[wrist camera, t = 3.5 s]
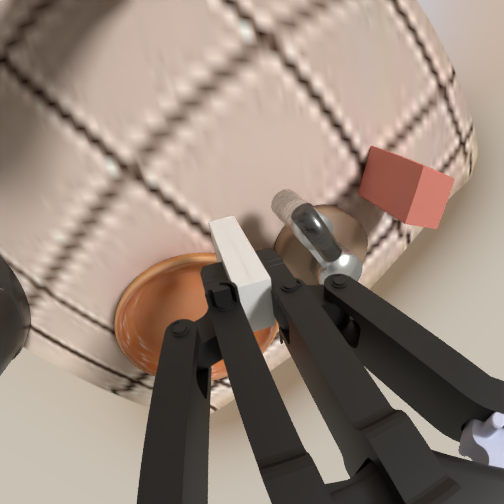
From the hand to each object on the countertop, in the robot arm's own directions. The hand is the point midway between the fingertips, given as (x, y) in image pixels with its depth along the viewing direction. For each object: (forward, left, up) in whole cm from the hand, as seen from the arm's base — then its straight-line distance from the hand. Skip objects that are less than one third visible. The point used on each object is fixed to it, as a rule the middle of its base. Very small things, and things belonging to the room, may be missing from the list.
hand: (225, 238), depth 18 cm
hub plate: (+11, -4, -7) cm, 14 cm away
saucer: (0, -12, -7) cm, 14 cm away
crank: (+8, -1, -4) cm, 9 cm away
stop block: (+17, +5, -7) cm, 19 cm away
